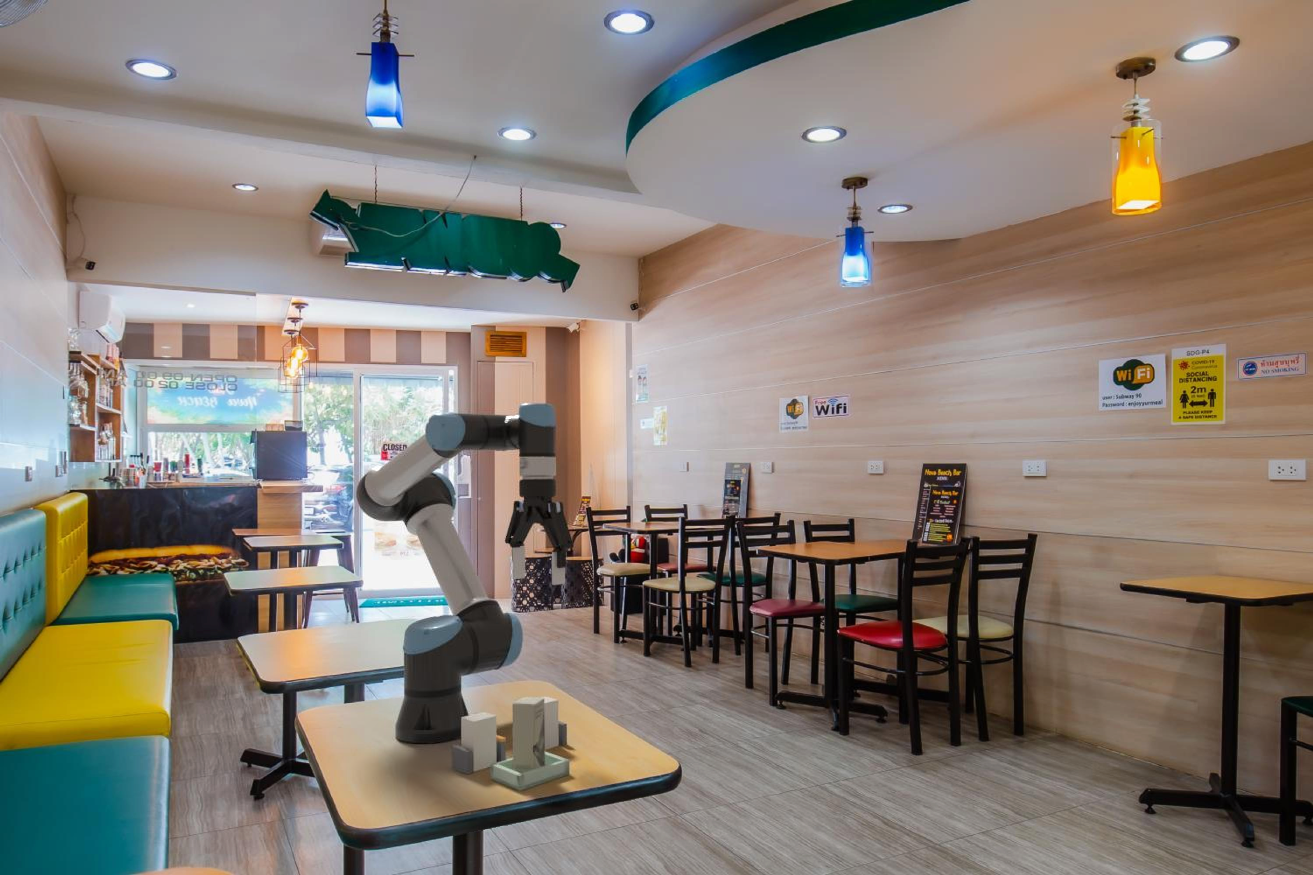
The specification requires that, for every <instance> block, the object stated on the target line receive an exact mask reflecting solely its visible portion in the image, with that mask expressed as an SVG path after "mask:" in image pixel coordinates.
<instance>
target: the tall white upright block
mask: <svg viewBox="0 0 1313 875" xmlns="http://www.w3.org/2000/svg"><path fill="white" fill-rule="evenodd" d="M496 735H497V715H496V714H492V713H489V712H485V711H481V712H477V713H474V714H473V713H472V714H469V716H465V717H461V737H460V739H461V740H460V741H461V743H460V744H461V745H460V746H461V747H464V748H466V749H469V750H471V751H472V773H473V772H476V771H479V770H484V769H488V768H490V764H494V763H497V753H496Z"/></svg>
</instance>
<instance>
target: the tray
mask: <svg viewBox="0 0 1313 875" xmlns="http://www.w3.org/2000/svg"><path fill="white" fill-rule="evenodd" d="M489 768H490V777H489V778H490V779H491V780H493V781H495V782H498V783H499V784H502V785H504V786H507V787H510V788H512V789H514V790H515V791H520V792H521V791H523V790H524V791H525V790H526V789H530V788H533V787H535V786H539V785H541V784H544V783H548V782H550V781H553V780H556V779H559V778H562V777H565V776H568V775H570V759H567V758H564V757H562V756H559V755H557V754H554V753H551V752H547V751H545V766H543V767H540V768H537V769H534V770H531V771H528V772H525V773H519V772H517V771H514V770H513V757H511V758H507V759H506V760H503V761H500V762H497V763H494V764H490V767H489Z"/></svg>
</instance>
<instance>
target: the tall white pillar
mask: <svg viewBox="0 0 1313 875" xmlns="http://www.w3.org/2000/svg"><path fill="white" fill-rule="evenodd" d="M540 698H544V721H545V722H544V725H545V751H547V750H549V749H552V748H555V747H559V746H560V744H559V728H558V721H559V699H556V698H554V697H550V696H541V697H540Z"/></svg>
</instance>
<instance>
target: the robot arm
mask: <svg viewBox="0 0 1313 875" xmlns="http://www.w3.org/2000/svg"><path fill="white" fill-rule="evenodd" d="M555 410H556V408H555V406H554V405H552V404H551V403H547V402H546V403H544V402H531V403H530V402H529V403H522V404H520V405H519V407H518V414H484V413H483V414H482V413H477V414H476V413H462V412H461V413H459V412H454V411H453V412H451V411H450V412H438V413H434V414H432V415H430V417H429V419H428V422H427V423H426V424H425V432H424V434H423V435H421V436H420V437H418V438H417V440H415V441H414V442H412V443H411V444H410V445H408V446H407V447H406V448H405V449H403V450H402V451H401V452H399V453H398V454H396V456H394V457H393V458H392V459H390V460H389V461H387V463H385V464H383V465H378V466H375V467H373V468H371V470H369V471H367V473H365V474H364V475H363V476H362V477H361V479H360V480H359V481H358V484H357V487H356V492H355V495H356V501H357V504H358V506H359V508H360V509H361V511H362V512H363V513H364V514H365V515H367V516H368V517H370V518H371V519H373V520H376V521H379V522H400V521H401V522H403V523H404V526H405V527H406V530H407V531H408V533H409V534H411V535H413V536H417V538H418V541H419V543H420V545H421V547H422V549H423V551H424V554H425V556H426V559H427V560H428V563H429V565H430V567H431V569H432V572H433V574H434V576H435V579H436V580H437V583H438V585H439V587H440V590H441V592H442V594H443V596H444V598H445V600H446V602H447V603H446V604H447V605H448V607H449V609H450V612H451V614H452V615H451V614H442V615H438V616H435V615H434V616H430V617H426V618H421V619H419V620H416V621H414V622H412V623H411V624H409V625H408V627H407V628H406V629H405V631H404V637H403V639H404V640H403V647H402V650H403V651H402V652H403V690H404V691H403V700H402V702H401V706H400V710H399V711H398V712H399V713H398V716H397V718H396V719H397V720H396V723H395V728H394V730H395V731H394V732H395V738H396V739H397V740H399V741H401V742H405V743H410V744H411V743H412V744H432V743H433V744H435V743H442V742H448V741H451V740H455V739H458V738H461V717H465V716H469V715H470V714H469V712H468V708H467V705H466V702H465V699H464V697H463V693H462V677H464V676H468V675H469V676H470V675H474V674H479V673H484V672H488V671H489V672H490V671H493V670H495V671H497V670H501V669H502V668H504V667H505V668H506V667H508V666H512V665H513V664H515V662H516V661H517V659H518V658H519V657H520V654H521V652H522V649H523V641H524V632H523V627H522V623H521V621H520V619H519V618H518V616H517V615H515V613H511V612H508V611H506V612H503V610H502V608H501V606H500V604H499V602H498V600H496V599H493V598H489V596H488V595H487V592H486V590H485V588H484V586H483V584H482V582H481V580H480V578H479V576H478V573H477V571H476V569H475V567H474V565H473V563H472V561H471V559H470V557H469V554H468V553H467V551H466V548H465V547H464V544H463V542H462V540H461V538H460V536H459V534H458V531H457V530H456V528H455V525H454V524H453V522H452V518H453V517H454V514H455V512H454V511H455V509H456V505H457V498H456V497H455V496H456V495H457V494H456V490H455V487H454V484H453V483H452V481H451V480H450V479H449V478H448V476H446V475H445V474H444V473H440V472H437V471H436V470H438V469H439V468H441V467H442V466H444V465H445V464H446V463H447V462H449V461H450V460H452V459H453V458H454V457H456V456H458V455H459V454H460V453H462V452H463V451H496V452H498V451H500V452H506V451H516V450H517V451H519V454H518V457H519V476H520V477H522V479H521V478H520V480H519V484H518V485H519V486H518V487H519V488H518V491H519V497H520V498H523V499H522V500H515V501H514V502H513V506H512V507H513V508H512V515H511V517H510V521H509V524H508V529H507V531H506V535H505V538H504V543H505V544H509V546H510V548H511V561H512V579H513V580H517V579H525V578H526V546H525V543H524V542H525V541H526V538H527V537H528V535H529V533H530V531H531V530H532V527H533V525H534V524H538V525H540V526H541V527H543V529H544V531H545V533H546V535H547V538H548V540H549V542H550V544H551V545H552V547H553V550H552V551H551V585H552V586H557V585H564V584H566V566H567V552H568V550H570V549H573V548H574V542H573V539H572V536H571V532H570V529H569V526H568V523H567V520H566V516H565V513H564V503H563V502H562V501H553V498H554V497H555V496H556V495H557V489H556V488H557V481H556V479H555V478H553V477H555V476H556V475H557V460H556V459H557V458H556V451H557V450H556V447H557V444H556V442H557V441H556V438H557V436H556V435H557V434H556V431H557V429H556V425H557V422H556V412H555Z"/></svg>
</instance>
